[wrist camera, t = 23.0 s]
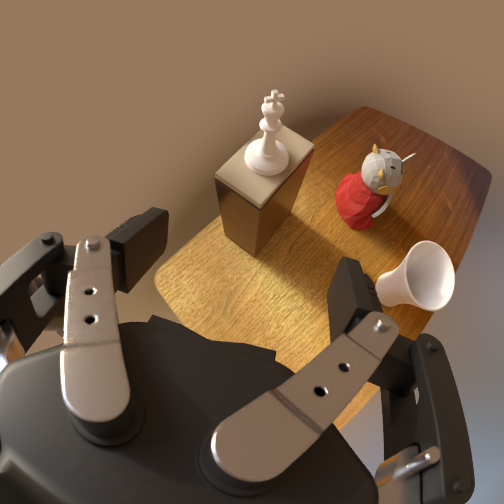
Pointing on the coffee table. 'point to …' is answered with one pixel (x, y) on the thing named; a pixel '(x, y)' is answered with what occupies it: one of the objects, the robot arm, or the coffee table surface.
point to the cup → (419, 279)
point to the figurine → (370, 188)
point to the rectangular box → (260, 192)
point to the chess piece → (268, 140)
